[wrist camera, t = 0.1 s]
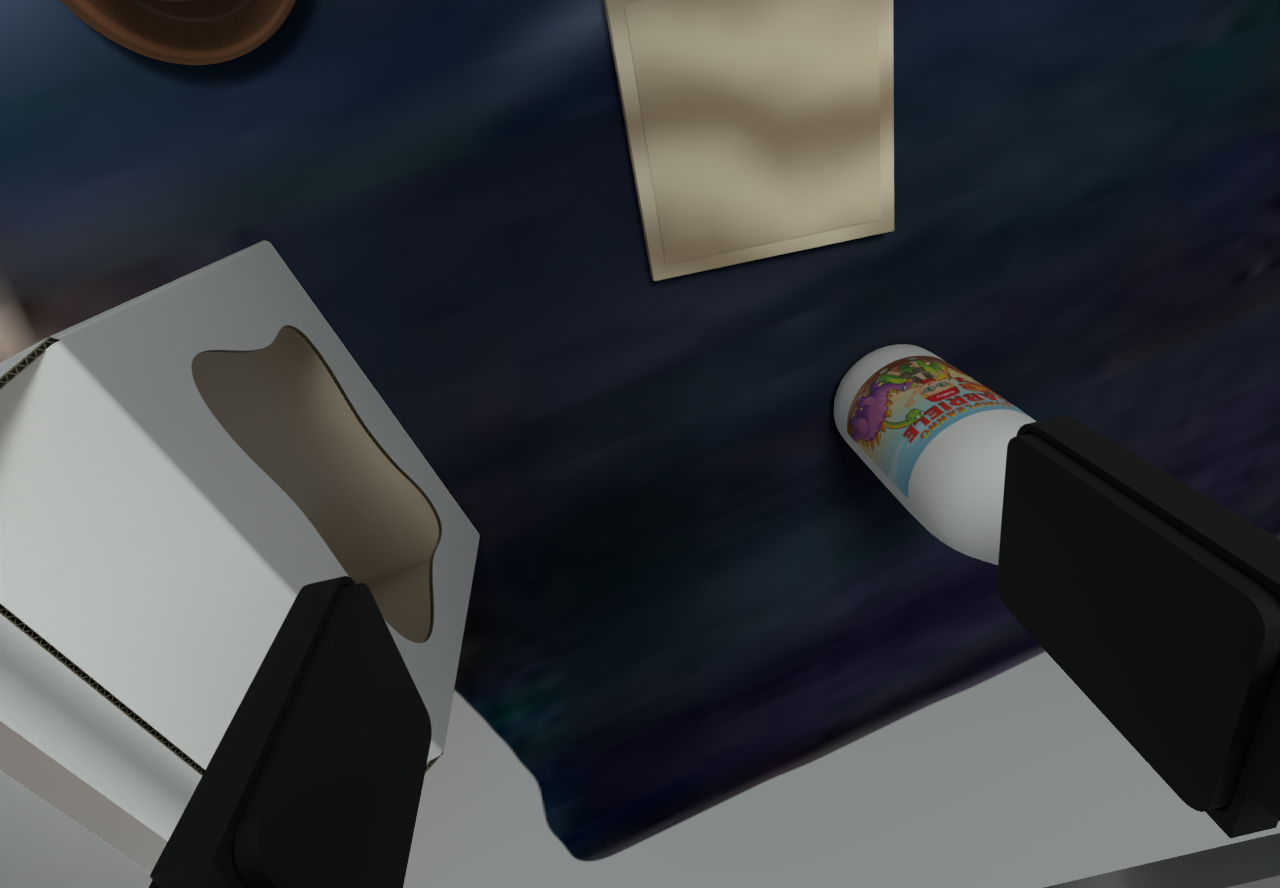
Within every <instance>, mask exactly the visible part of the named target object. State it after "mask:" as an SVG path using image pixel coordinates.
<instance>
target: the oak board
mask: <svg viewBox="0 0 1280 888" xmlns="http://www.w3.org/2000/svg"><path fill="white" fill-rule="evenodd" d="M604 4H605V10H606V16H607V22H608V28H609V33H610V39H611V45H612V51H613V57H614V62H615V68H616V74H617V80H618V86H619V92H620V97H621V103H622V109H623V115H624V121H625V126H626V132H627V138H628V144H629V150H630V155H631V161H632V167H633V173H634V179H635V185H636V190H637V196H638V202H639V208H640V214H641V219H642V225H643V231H644V237H645V243H646V248H647V254H648V260H649V266H650V272H651V277H652V278H653V280H654V281H658V280H662V279H667V278H672V277H677V276H681V275H686V274H691V273H696V272H700V271H705V270H710V269H715V268H719V267H724V266H729V265H734V264H738V263H743V262H748V261H753V260H757V259H762V258H767V257H772V256H776V255H781V254H786V253H791V252H795V251H800V250H805V249H810V248H814V247H819V246H824V245H829V244H833V243H838V242H843V241H848V240H852V239H857V238H862V237H867V236H872V235H876V234H881V233H886V232H891V231H894V76H893V0H604Z"/></svg>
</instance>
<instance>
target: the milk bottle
mask: <svg viewBox="0 0 1280 888" xmlns="http://www.w3.org/2000/svg"><path fill="white" fill-rule="evenodd" d="M834 419H835V423H836V426H837V429H838V431H839V432H840V434H841V435H842V437H843V438H844V439H845V441H846V442H847V443H848V444H849V446H850V447H851V448H852V449H853V450H854V451H855V452H856V453H857V455H858V456H859V457H860V458H861V459H862V460H863V461H864V463H865V464H866V465H867V466H868V467H869V468H870V469H871V470H872V471H873V473H874V474H875V475H876V476H877V477H878V478H879V479H880V480H881V482H882V483H883V484H884V485H885V486H886V487H887V488H888V489H889V490H890V491H891V493H892V494H893V495H894V496H895V497H896V498H897V499H898V500H899V501H900V502H901V503H902V505H903V506H904V507H905V508H906V509H907V510H908V511H909V512H910V513H911V514H912V515H913V516H914V517H915V518H916V519H917V520H918V521H919V522H920V523H921V524H922V525H923V526H924V527H925V528H926V529H927V530H928V531H929V532H930V533H932V534H933V535H934V536H935V537H937V538H938V539H939V540H940V541H942V542H943V543H945V544H947V545H948V546H950V547H951V548H953V549H955V550H957V551H959V552H961V553H963V554H965V555H968V556H971V557H974V558H976V559H979V560H983V561H986V562H990V563H993V564H996V565H998V560H999V547H1000V534H1001V521H1002V508H1003V495H1004V482H1005V469H1006V456H1007V446H1008V443H1009V441H1010V439H1012V438H1013V437H1016V436H1017V432H1018V430H1019V429H1020V427H1021V426H1023V425H1024V424H1028V423H1033V422H1036V421H1035V420H1033V419H1032V418H1031V417H1029V416H1028V415H1027V414H1025V413H1024V412H1022V411H1021V410H1020V409H1018V408H1017V407H1015V406H1014V405H1012V404H1011V403H1009V402H1008V401H1006V400H1005V399H1003V398H1002V397H1000V396H998V395H997V394H995V393H994V392H992V391H991V390H989V389H988V388H986V387H985V386H983V385H982V384H980V383H978V382H977V381H975V380H974V379H972V378H971V377H969V376H968V375H966V374H964V373H963V372H961V371H960V370H958V369H957V368H955V367H953V366H952V365H950V364H949V363H947V362H946V361H944V360H942V359H941V358H939V357H938V356H936V355H934V354H933V353H931V352H929V351H927V350H925V349H923V348H921V347H918V346H914V345H907V344H898V345H891V346H886V347H883V348H880V349H877V350H874V351H872V352H871V353H869V354H867V355H865V356H864V357H862V358H861V359H860V360H858V361H857V362H856V363H855V364H854V365H853V366H852V367H851V368H850V369H849V370H848V371H847V373H846V374H845V376H844V377H843V379H842V380H841V382H840V385H839V387H838V389H837V392H836V396H835V400H834Z"/></svg>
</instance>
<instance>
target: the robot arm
mask: <svg viewBox="0 0 1280 888" xmlns="http://www.w3.org/2000/svg"><path fill="white" fill-rule="evenodd" d="M997 589H998V593H999V596H1000V598H1001V600H1002V602H1003V604H1004V605H1005V607H1006V608H1007V609H1008V610H1009V612H1010V613H1011V614H1012V615H1013V616H1014V617H1015V618H1016V619H1017V620H1018V621H1019V622H1020V624H1021V625H1022V626H1023V627H1024V628H1025V629H1026V630H1027V631H1028V632H1029V633H1030V634H1031V636H1032V637H1033V638H1034V639H1035V640H1036V641H1037V642H1038V643H1039V644H1040V645H1041V646H1042V648H1043V649H1044V650H1045V651H1046V652H1047V653H1048V654H1049V655H1050V656H1051V657H1052V658H1053V659H1054V661H1055V662H1056V663H1057V664H1058V665H1059V666H1060V667H1061V668H1062V669H1063V670H1064V672H1065V673H1066V674H1067V675H1068V676H1069V677H1070V678H1071V679H1072V680H1073V681H1074V683H1075V684H1076V685H1077V686H1078V687H1079V688H1080V689H1081V690H1082V691H1083V692H1084V693H1085V695H1086V696H1087V697H1088V698H1089V699H1090V700H1091V701H1092V702H1093V703H1094V704H1095V705H1096V707H1097V708H1098V709H1099V710H1100V711H1101V712H1102V713H1103V714H1104V715H1105V716H1106V717H1107V718H1108V720H1109V721H1110V722H1111V723H1112V724H1113V725H1114V726H1115V727H1116V728H1117V729H1118V731H1119V732H1120V733H1121V734H1122V735H1123V736H1124V737H1125V738H1126V739H1127V740H1128V741H1129V743H1130V744H1131V745H1132V746H1133V747H1134V748H1135V749H1136V750H1137V751H1138V752H1139V753H1140V755H1141V756H1142V757H1143V758H1144V759H1145V760H1146V761H1147V762H1148V763H1149V764H1150V765H1151V767H1152V768H1153V769H1154V770H1155V771H1156V772H1157V773H1158V774H1159V775H1160V776H1161V778H1162V779H1163V780H1164V781H1165V782H1166V783H1167V784H1168V785H1169V786H1170V787H1171V788H1172V790H1173V791H1174V792H1175V793H1176V794H1177V795H1178V796H1179V797H1180V798H1181V799H1182V800H1183V801H1184V802H1185V803H1186V804H1187V805H1189V806H1190V807H1191V808H1193V809H1195V810H1197V811H1201V812H1203V811H1205V812H1206V813H1207V814H1208V815H1209V816H1210V817H1211V818H1212V819H1213V820H1214V821H1215V822H1216V824H1217V825H1218V826H1219V827H1220V828H1221V829H1222V830H1223V831H1224V832H1225V833H1226V834H1227V835H1228V836H1229V837H1230V838H1234V837H1238V836H1242V835H1246V834H1251V833H1254V832H1259V831H1263V830H1267V829H1271V828H1276V825H1277V823H1278V821H1280V540H1279V539H1277V538H1276V537H1274V536H1272V535H1271V534H1269V533H1267V532H1266V531H1264V530H1262V529H1260V528H1259V527H1257V526H1255V525H1254V524H1252V523H1250V522H1249V521H1247V520H1245V519H1243V518H1242V517H1240V516H1238V515H1237V514H1235V513H1233V512H1232V511H1230V510H1228V509H1226V508H1225V507H1223V506H1221V505H1220V504H1218V503H1216V502H1215V501H1213V500H1211V499H1209V498H1208V497H1206V496H1204V495H1203V494H1201V493H1199V492H1198V491H1196V490H1194V489H1192V488H1191V487H1189V486H1187V485H1186V484H1184V483H1182V482H1181V481H1179V480H1177V479H1176V478H1174V477H1172V476H1170V475H1169V474H1167V473H1165V472H1164V471H1162V470H1160V469H1159V468H1157V467H1155V466H1153V465H1152V464H1150V463H1148V462H1147V461H1145V460H1143V459H1142V458H1140V457H1138V456H1136V455H1135V454H1133V453H1131V452H1130V451H1128V450H1126V449H1125V448H1123V447H1121V446H1119V445H1118V444H1116V443H1114V442H1113V441H1111V440H1109V439H1108V438H1106V437H1104V436H1102V435H1101V434H1099V433H1097V432H1096V431H1094V430H1092V429H1091V428H1089V427H1087V426H1085V425H1084V424H1082V423H1080V422H1079V421H1077V420H1075V419H1074V418H1071V417H1068V416H1060V417H1055V418H1051V419H1046V420H1042V421H1037V422H1033V423H1028V424H1024V425H1023V426H1021V427H1020V429H1019V430H1018V432H1017V436H1016V437H1013V438H1012V439H1010V441H1009V443H1008V446H1007V456H1006V469H1005V482H1004V495H1003V508H1002V521H1001V534H1000V547H999V560H998V573H997ZM431 736H432V728H431V721H430V716H429V714H428V711H427V709H426V707H425V705H424V702H423V700H422V698H421V696H420V694H419V692H418V690H417V688H416V686H415V683H414V681H413V679H412V677H411V675H410V673H409V671H408V669H407V667H406V664H405V662H404V660H403V658H402V656H401V654H400V652H399V650H398V648H397V645H396V643H395V641H394V639H393V637H392V635H391V633H390V631H389V629H388V626H387V624H386V622H385V620H384V618H383V616H382V614H381V612H380V610H379V607H378V605H377V603H376V601H375V599H374V597H373V595H372V593H371V591H370V589H369V587H368V586H367V585H366V584H365V583H358V584H356V583H355V582H354V580H353V579H351V578H350V577H348V576H343V577H338V578H334V579H329V580H325V581H320V582H316V583H311V584H307V585H305V586H303V587H302V589H301V590H300V591H299V593H298V595H297V597H296V599H295V601H294V603H293V605H292V606H291V608H290V610H289V612H288V614H287V616H286V618H285V620H284V622H283V624H282V625H281V627H280V629H279V631H278V633H277V635H276V637H275V639H274V641H273V643H272V644H271V646H270V648H269V650H268V652H267V654H266V656H265V658H264V660H263V662H262V664H261V665H260V667H259V669H258V671H257V673H256V675H255V677H254V679H253V681H252V683H251V684H250V686H249V688H248V690H247V692H246V694H245V696H244V698H243V700H242V702H241V703H240V705H239V707H238V709H237V711H236V713H235V715H234V717H233V719H232V721H231V722H230V724H229V726H228V728H227V730H226V732H225V734H224V736H223V738H222V740H221V741H220V743H219V745H218V747H217V749H216V751H215V753H214V755H213V757H212V759H211V760H210V762H209V764H208V766H207V768H206V770H205V772H204V774H203V776H202V778H201V780H200V781H199V783H198V785H197V787H196V789H195V791H194V793H193V795H192V797H191V799H190V800H189V802H188V804H187V806H186V808H185V810H184V812H183V814H182V816H181V818H180V819H179V821H178V823H177V825H176V827H175V829H174V831H173V833H172V835H171V837H170V838H169V840H168V842H167V844H166V846H165V848H164V850H163V852H162V854H161V856H160V858H159V860H158V862H157V863H156V865H155V867H154V869H153V871H152V873H151V875H150V877H151V878H152V882H151V884H150V886H149V888H403V884H404V879H405V874H406V868H407V863H408V858H409V853H410V848H411V843H412V837H413V831H414V827H415V822H416V816H417V811H418V806H419V801H420V796H421V790H422V785H423V780H424V775H425V770H426V764H427V759H428V754H429V749H430V743H431ZM1045 888H1280V833H1279V834H1274V835H1269V836H1265V837H1261V838H1256V839H1252V840H1247V841H1243V842H1239V843H1234V844H1230V845H1226V846H1221V847H1217V848H1213V849H1208V850H1204V851H1200V852H1196V853H1191V854H1187V855H1183V856H1178V857H1174V858H1170V859H1165V860H1161V861H1157V862H1153V863H1148V864H1145V865H1140V866H1135V867H1131V868H1127V869H1122V870H1118V871H1114V872H1110V873H1105V874H1101V875H1097V876H1093V877H1088V878H1084V879H1080V880H1075V881H1071V882H1067V883H1062V884H1058V885H1054V886H1050V887H1045Z"/></svg>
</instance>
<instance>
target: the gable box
mask: <svg viewBox="0 0 1280 888" xmlns="http://www.w3.org/2000/svg"><path fill="white" fill-rule="evenodd" d="M479 538H480V535H479V533H478V532H477V530H476V529H475V528H474V526H473V525H472V523H471V522H470V521H469V519H468V518H467V516H466V515H465V514H464V512H463V511H462V509H461V508H460V507H459V505H458V504H457V502H456V501H455V500H454V498H453V497H452V495H451V494H450V493H449V491H448V490H447V488H446V487H445V486H444V484H443V483H442V481H441V480H440V479H439V477H438V476H437V474H436V473H435V472H434V470H433V469H432V467H431V466H430V465H429V463H428V462H427V461H426V459H425V458H424V456H423V455H422V454H421V452H420V451H419V449H418V448H417V447H416V445H415V444H414V442H413V441H412V440H411V438H410V437H409V435H408V434H407V433H406V431H405V430H404V428H403V427H402V426H401V424H400V423H399V421H398V420H397V419H396V417H395V416H394V414H393V413H392V412H391V410H390V409H389V407H388V406H387V405H386V403H385V402H384V400H383V399H382V398H381V396H380V395H379V393H378V392H377V391H376V389H375V388H374V387H373V385H372V384H371V382H370V381H369V380H368V378H367V377H366V375H365V374H364V373H363V371H362V370H361V368H360V367H359V366H358V364H357V363H356V361H355V360H354V359H353V357H352V356H351V354H350V353H349V352H348V350H347V349H346V347H345V346H344V345H343V343H342V342H341V340H340V339H339V338H338V336H337V335H336V333H335V332H334V331H333V329H332V328H331V326H330V325H329V324H328V322H327V321H326V319H325V318H324V317H323V315H322V314H321V312H320V311H319V310H318V308H317V307H316V306H315V304H314V303H313V301H312V300H311V299H310V297H309V296H308V294H307V293H306V292H305V290H304V289H303V287H302V286H301V285H300V283H299V282H298V280H297V279H296V278H295V276H294V275H293V273H292V272H291V271H290V269H289V268H288V266H287V265H286V264H285V262H284V261H283V259H282V258H281V257H280V255H279V254H278V252H277V251H276V250H275V248H274V247H273V245H272V244H271V243H270V242H268V241H265V240H263V241H261V242H259V243H257V244H254V245H252V246H250V247H248V248H246V249H243V250H241V251H239V252H237V253H234V254H232V255H230V256H228V257H225V258H223V259H221V260H219V261H217V262H214V263H212V264H210V265H208V266H205V267H203V268H201V269H199V270H197V271H194V272H192V273H190V274H188V275H185V276H183V277H181V278H179V279H177V280H174V281H172V282H170V283H168V284H165V285H163V286H161V287H159V288H157V289H154V290H152V291H150V292H148V293H145V294H143V295H141V296H139V297H136V298H134V299H132V300H130V301H128V302H125V303H123V304H121V305H119V306H116V307H114V308H112V309H110V310H108V311H105V312H103V313H101V314H99V315H96V316H94V317H92V318H90V319H88V320H85V321H83V322H81V323H79V324H76V325H74V326H72V327H70V328H68V329H65V330H63V331H61V332H59V333H56V334H54V335H52V336H50V337H48V338H46V339H44V340H42V341H40V342H38V343H37V344H35V345H33V346H31V347H29V348H27V349H25V350H23V351H22V352H20V353H18V354H16V355H14V356H12V357H10V358H8V359H6V360H5V361H3V362H1V363H0V721H1V722H3V723H4V724H5V725H7V726H8V727H10V728H11V729H12V730H14V731H15V732H16V733H18V734H19V735H21V736H22V737H24V738H25V739H26V740H28V741H29V742H31V743H32V744H33V745H35V746H36V747H37V748H39V749H40V750H42V751H43V752H44V753H46V754H47V755H49V756H50V757H51V758H53V759H54V760H56V761H57V762H58V763H60V764H61V765H63V766H64V767H65V768H66V769H68V770H69V771H71V772H72V773H73V774H75V775H76V776H78V777H79V778H80V779H82V780H83V781H85V782H86V783H87V784H89V785H90V786H92V787H93V788H94V789H96V790H97V791H99V792H100V793H101V794H103V795H104V796H106V797H107V798H108V799H110V800H111V801H112V802H114V803H115V804H117V805H118V806H119V807H121V808H122V809H124V810H125V811H126V812H128V813H129V814H130V815H132V816H133V817H135V818H136V819H137V820H139V821H140V822H142V823H143V824H144V825H146V826H147V827H148V828H150V829H151V830H153V831H154V832H156V833H157V834H158V835H160V836H161V837H162V838H164V839H165V840H167V841H168V840H169V838H170V837H171V835H172V833H173V831H174V829H175V827H176V825H177V823H178V821H179V819H180V818H181V816H182V814H183V812H184V810H185V808H186V806H187V804H188V802H189V800H190V799H191V797H192V795H193V793H194V791H195V789H196V787H197V785H198V783H199V781H200V780H201V778H202V776H203V774H204V772H205V770H206V768H207V766H208V764H209V762H210V760H211V759H212V757H213V755H214V753H215V751H216V749H217V747H218V745H219V743H220V741H221V740H222V738H223V736H224V734H225V732H226V730H227V728H228V726H229V724H230V722H231V721H232V719H233V717H234V715H235V713H236V711H237V709H238V707H239V705H240V703H241V702H242V700H243V698H244V696H245V694H246V692H247V690H248V688H249V686H250V684H251V683H252V681H253V679H254V677H255V675H256V673H257V671H258V669H259V667H260V665H261V664H262V662H263V660H264V658H265V656H266V654H267V652H268V650H269V648H270V646H271V644H272V643H273V641H274V639H275V637H276V635H277V633H278V631H279V629H280V627H281V625H282V624H283V622H284V620H285V618H286V616H287V614H288V612H289V610H290V608H291V606H292V605H293V603H294V601H295V599H296V597H297V595H298V593H299V591H300V590H301V589H302V587H303V586H305V585H307V584H311V583H316V582H320V581H325V580H329V579H334V578H338V577H343V576H348V577H350V578H351V579H353V580H354V582H355V583H356V584H358V583H365V584H366V585H367V586H368V587H369V589H370V591H371V593H372V595H373V597H374V599H375V601H376V603H377V605H378V607H379V610H380V612H381V614H382V616H383V618H384V620H385V622H386V624H387V626H388V629H389V631H390V633H391V635H392V637H393V639H394V641H395V643H396V645H397V648H398V650H399V652H400V654H401V656H402V658H403V660H404V662H405V664H406V667H407V669H408V671H409V673H410V675H411V677H412V679H413V681H414V683H415V686H416V688H417V690H418V692H419V694H420V696H421V698H422V700H423V702H424V705H425V707H426V709H427V711H428V714H429V716H430V721H431V728H432V736H431V743H430V749H429V754H428V759H427V764H426V770H425V773H426V771H428V769H429V768H430V767H431V766H432V765H433V764H434V763H435V762H436V760H437V759H438V758H439V757H440V755H442V754H443V751H444V746H445V740H446V733H447V728H448V722H449V716H450V710H451V703H452V698H453V692H454V686H455V681H456V675H457V669H458V663H459V657H460V651H461V645H462V639H463V633H464V627H465V621H466V615H467V609H468V604H469V598H470V592H471V586H472V580H473V574H474V568H475V562H476V556H477V550H478V544H479ZM150 875H151V872H149V871H148V870H146V869H145V868H143V867H142V866H140V865H139V864H137V863H136V862H134V861H133V860H131V859H130V858H129V857H127V856H126V855H124V854H123V853H121V852H119V851H118V850H117V849H115V848H114V847H112V846H111V845H109V844H108V843H106V842H105V841H104V840H102V839H101V838H99V837H98V836H96V835H95V834H93V833H92V832H90V831H89V830H87V829H86V828H84V827H83V826H81V825H80V824H79V823H77V822H76V821H74V820H73V819H71V818H70V817H68V816H67V815H65V814H64V813H62V812H61V811H60V810H58V809H57V808H55V807H54V806H52V805H51V804H49V803H48V802H46V801H45V800H43V799H42V798H40V797H39V796H37V795H36V794H34V793H33V792H32V791H30V790H29V789H27V788H26V787H24V786H23V785H21V784H20V783H18V782H17V781H15V780H14V779H12V778H11V777H10V776H8V775H6V774H5V773H3V772H2V771H1V770H0V888H149V886H150V884H151V882H152V878H151V877H150Z"/></svg>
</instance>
